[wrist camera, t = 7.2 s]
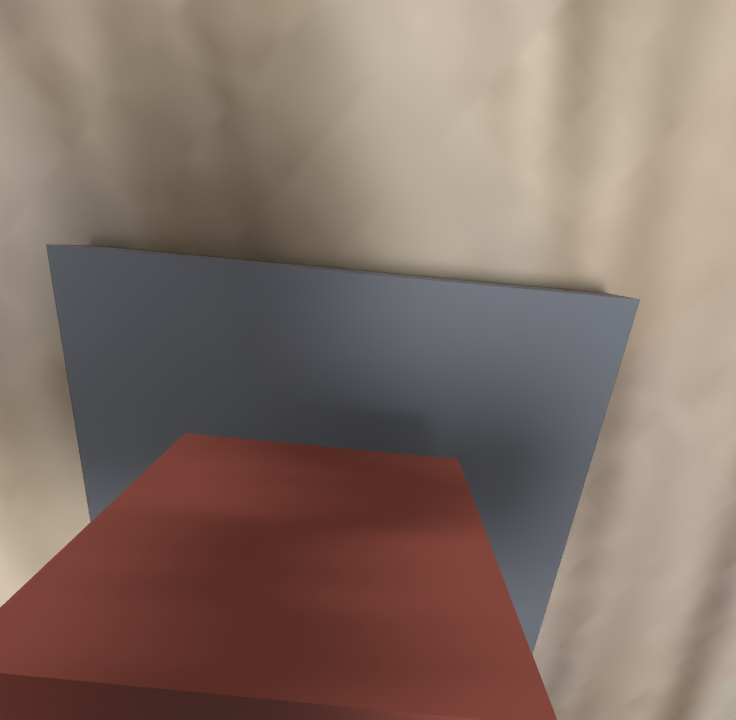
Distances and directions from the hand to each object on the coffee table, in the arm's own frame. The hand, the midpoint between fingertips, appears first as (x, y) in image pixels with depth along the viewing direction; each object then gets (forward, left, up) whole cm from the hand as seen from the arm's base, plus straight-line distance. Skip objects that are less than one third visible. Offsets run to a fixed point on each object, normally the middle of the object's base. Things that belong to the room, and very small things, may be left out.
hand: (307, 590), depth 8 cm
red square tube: (0, 0, -1) cm, 1 cm away
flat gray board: (0, 0, -5) cm, 5 cm away
